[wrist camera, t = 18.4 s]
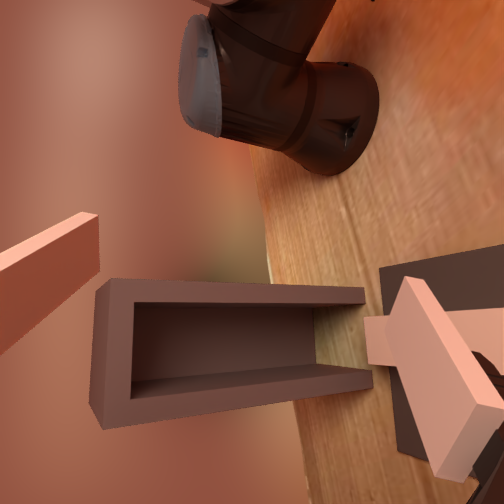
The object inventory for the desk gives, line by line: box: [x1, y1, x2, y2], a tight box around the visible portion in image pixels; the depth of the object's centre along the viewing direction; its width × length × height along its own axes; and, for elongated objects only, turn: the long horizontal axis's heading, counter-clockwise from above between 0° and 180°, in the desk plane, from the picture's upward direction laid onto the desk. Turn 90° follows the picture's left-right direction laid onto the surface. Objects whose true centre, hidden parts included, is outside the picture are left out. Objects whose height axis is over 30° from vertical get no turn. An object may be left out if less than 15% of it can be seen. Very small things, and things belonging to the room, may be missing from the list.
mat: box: [379, 244, 504, 478], centre depth 31 cm, size 20×23×1 cm
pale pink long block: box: [364, 308, 504, 375], centre depth 32 cm, size 5×19×4 cm, turn 95°
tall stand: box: [89, 278, 373, 430], centre depth 41 cm, size 12×12×30 cm
